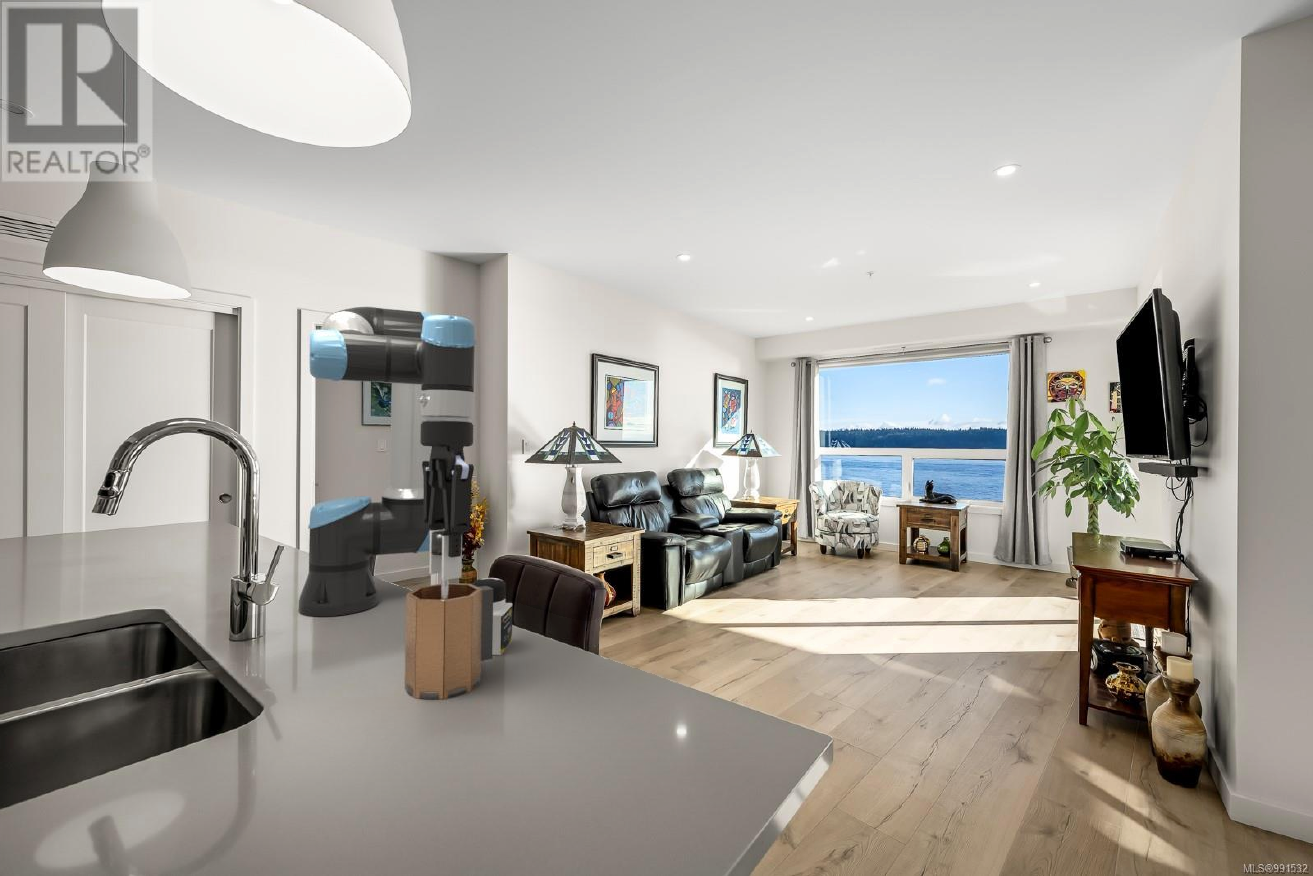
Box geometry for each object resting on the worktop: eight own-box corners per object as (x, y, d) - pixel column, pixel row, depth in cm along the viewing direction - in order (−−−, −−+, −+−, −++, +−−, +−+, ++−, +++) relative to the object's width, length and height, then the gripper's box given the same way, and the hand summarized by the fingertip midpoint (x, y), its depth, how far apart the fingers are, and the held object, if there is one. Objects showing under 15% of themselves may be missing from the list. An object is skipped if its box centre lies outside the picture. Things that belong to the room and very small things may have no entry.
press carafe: (395, 682, 90) (397, 590, 90) (473, 662, 98) (475, 577, 98) (421, 706, 82) (423, 605, 82) (504, 682, 90) (505, 590, 90)
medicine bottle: (501, 656, 101) (502, 585, 101) (459, 655, 101) (461, 585, 101) (512, 641, 108) (513, 575, 108) (473, 640, 108) (474, 575, 108)
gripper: (401, 419, 93) (399, 568, 93) (446, 418, 80) (443, 591, 80) (448, 421, 98) (446, 562, 98) (497, 420, 85) (494, 582, 85)
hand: (445, 575), depth 89 cm, fingers closed on plunger, 4 cm apart
